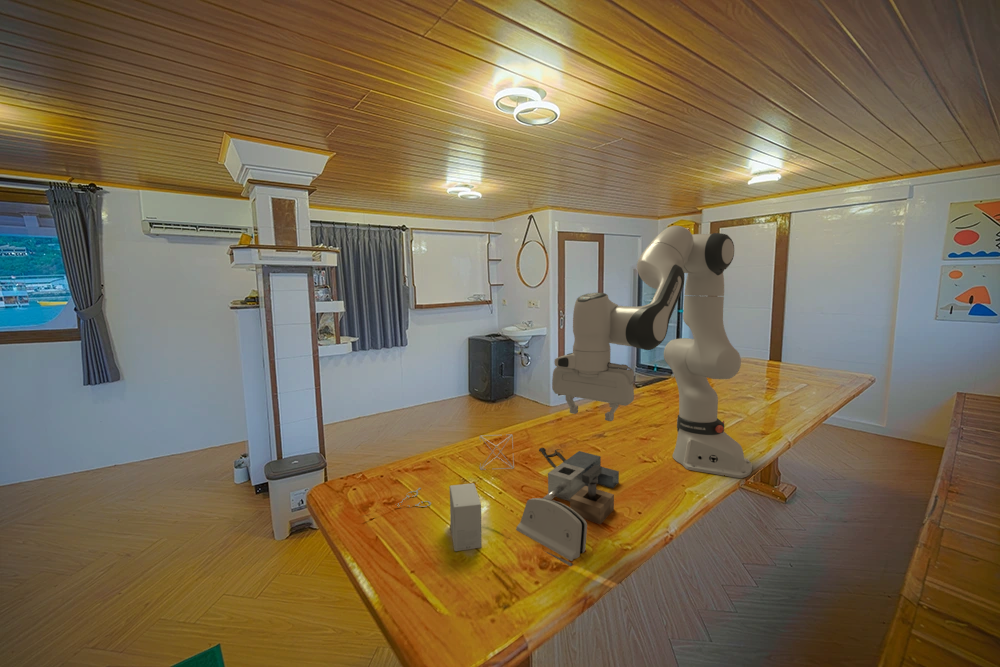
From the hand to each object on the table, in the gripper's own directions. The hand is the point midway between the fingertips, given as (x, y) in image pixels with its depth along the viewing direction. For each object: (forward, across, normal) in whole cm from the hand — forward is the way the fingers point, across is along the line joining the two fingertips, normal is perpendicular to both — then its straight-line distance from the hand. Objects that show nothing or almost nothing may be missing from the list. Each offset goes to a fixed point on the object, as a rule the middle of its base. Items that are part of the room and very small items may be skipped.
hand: (591, 416), depth 101 cm
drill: (+26, +7, -7) cm, 27 cm away
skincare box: (+26, +19, +25) cm, 41 cm away
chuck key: (+24, 0, 0) cm, 25 cm away
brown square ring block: (+26, 0, 0) cm, 26 cm away
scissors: (+27, +43, +27) cm, 58 cm away
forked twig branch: (+26, +21, -23) cm, 41 cm away
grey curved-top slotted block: (+26, +2, +15) cm, 30 cm away
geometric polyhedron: (+26, +38, -9) cm, 47 cm away
